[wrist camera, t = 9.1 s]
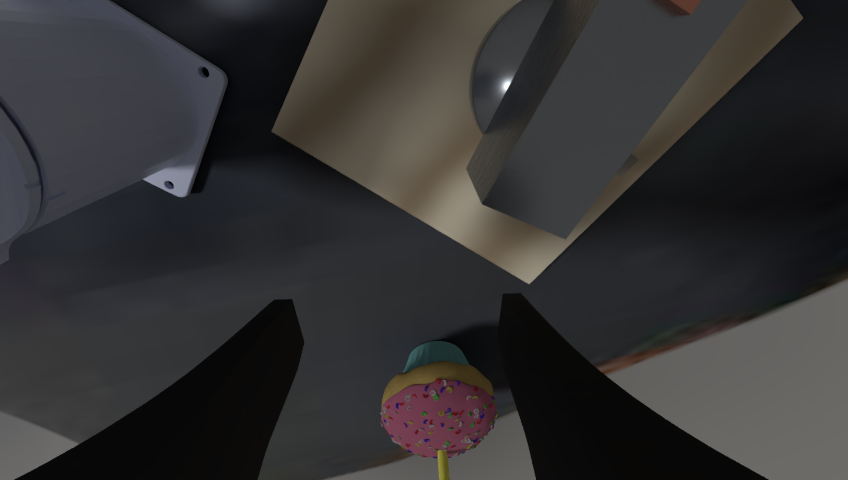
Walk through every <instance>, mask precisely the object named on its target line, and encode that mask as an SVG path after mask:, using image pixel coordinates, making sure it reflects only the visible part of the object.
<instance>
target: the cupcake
mask: <svg viewBox="0 0 848 480" xmlns="http://www.w3.org/2000/svg"><path fill="white" fill-rule="evenodd" d="M496 409H497V403H496V400H495V398H494V393H493V388H492V384H491V383H490V381H489V380H488V379H487V378H486V377H484V376H483V375H482V374H481V373H480V372H479V371H478V370H477V369H476V368H474V367H473V366H471V365H469V363H468V361H467V359H466V358H465V356H464V354H463V352H462V351H461V349H460V348H458V347H457V346H456V345H454V344H452V343H449V342H445V341H431V342H426V343H424V344H421V345H419V346H418V347H416V348H415V349H414V350H413V351H412V352H411V354H410V356H409V359H408V362H407V364H406V367H405V369H404V372H403V373H399V374H397V375H396V376H395V377H394V378H393V379H392V380H391V381H390V382H389V383H388V385H387V387H386V389H385V392H384V395H383V400H382V412H381V413H380V414H381V415H382V417H381V420H382V422H381V426H382V427H385V429H386V431H387V433H388V434H389V435H390V436H391V437H392V441H393V440H394V441H393V442H394V443H396V444H399V445H400V446H401V448H402V449H403V450H406V449H407V450H408V452H412V453H414V454H416V455H419V456H423V457H433V458H438V464H439V479H440V480H449V468H448V458H450V457H451V456H454V455H455V456H458V455H459V454H460V453H461V454H463V453H464V452H465V451H466V450H470V449H473V448H475V447H476V446H477V445H478V444H479V443H480V441H481V440H483V439H484V437H486V436H487V435H488V432H489V431H490V430H491V429H490V428H492V429H493V428H494V423H495V421H494V420H495V418H496V417H497V412H496ZM382 423H383V425H382Z"/></svg>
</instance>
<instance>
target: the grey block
mask: <svg viewBox="0 0 848 480" xmlns="http://www.w3.org/2000/svg"><path fill="white" fill-rule="evenodd" d="M747 1H748V0H521V1H519V2H517V3H516V4H515V5H513V6H512V7H510V8H509V9H508V10H507V11H506V12H505V13H503V14H502V15H501V16H500V17H499V18H498V19H497V21H496V22H495V23H494V24H493V25H492V26H491V28H490V29H489V31H488V32H487V34H486V35H485V37H484V38H483V40H482V42H481V44H480V46H479V48H478V50H477V53H476V56H475V58H474V61H473V65H472V69H471V74H470V81H469V98H470V106H471V110H472V114H473V117H474V120H475V123H476V124H477V126H478V128H479V130H480V132H481V133H482V134H483V137H482V139H481V140H480V142H479V144H478V146H477V148H476V150H475V152H474V154H473V156H472V158H471V160H470V161H469V163H468V165H467V167H466V170H467V172H468V174H469V177H470V179H471V181H472V183H473V186H474V188H475V190H476V193H477V195H478V197H479V199H480V202H481V204H482V205H484V206H487V207H489V208H492V209H494V210H496V211H499V212H501V213H503V214H506V215H508V216H511V217H513V218H515V219H518V220H520V221H522V222H525V223H527V224H530V225H532V226H534V227H537V228H539V229H541V230H544V231H546V232H549V233H551V234H553V235H556V236H558V237H560V238H563V239H565V240H566V239H567V237H568V236H569V235H570V233H571V232H572V231H573V229H574V228H575V227H576V225H577V224H578V223H579V221H580V220H581V219H582V218H583V216H584V215H585V214H586V212H587V211H588V210H589V208H590V207H591V206H592V204H593V203H594V202H595V200H596V199H597V198H598V196H599V195H600V194H601V193H602V191H603V190H604V189H605V187H606V186H607V185H608V183H609V182H610V181H611V179H612V178H613V177H614V175H615V174H616V173H617V172H618V170H619V169H620V168H621V166H622V165H623V164H624V162H625V161H626V160H627V158H628V157H629V156H630V154H631V153H632V152H633V151H634V149H635V148H636V147H637V145H638V144H639V143H640V141H641V140H642V139H643V137H644V136H645V135H646V133H647V132H648V131H649V129H650V128H651V127H652V126H653V124H654V123H655V122H656V120H657V119H658V118H659V116H660V115H661V114H662V112H663V111H664V110H665V108H666V107H667V106H668V105H669V103H670V102H671V101H672V99H673V98H674V97H675V95H676V94H677V93H678V91H679V90H680V89H681V87H682V86H683V85H684V83H685V82H686V81H687V80H688V78H689V77H690V76H691V74H692V73H693V72H694V70H695V69H696V68H697V66H698V65H699V64H700V62H701V61H702V60H703V59H704V57H705V56H706V55H707V53H708V52H709V51H710V49H711V48H712V47H713V45H714V44H715V43H716V41H717V40H718V39H719V37H720V36H721V35H722V34H723V32H724V31H725V30H726V28H727V27H728V26H729V24H730V23H731V22H732V20H733V19H734V18H735V16H736V15H737V14H738V13H739V11H740V10H741V9H742V7H743V6H744V5H745V3H746V2H747Z"/></svg>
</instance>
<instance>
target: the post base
mask: <svg viewBox="0 0 848 480" xmlns="http://www.w3.org/2000/svg"><path fill="white" fill-rule="evenodd" d="M519 1H521V0H328V1H327V4H326V6H325V8H324V11H323V13H322V15H321V18H320V20H319V22H318V25H317V27H316V29H315V32H314V34H313V36H312V39H311V41H310V43H309V45H308V48H307V50H306V52H305V55H304V57H303V59H302V62H301V64H300V66H299V69H298V71H297V73H296V76H295V78H294V80H293V83H292V85H291V87H290V90H289V92H288V94H287V97H286V99H285V101H284V104H283V106H282V108H281V111H280V113H279V115H278V118H277V120H276V122H275V124H274V127H273V129H272V131H271V132H273V133H275V134H276V135H278V136H280V137H281V138H283V139H285V140H286V141H288V142H290V143H292V144H293V145H295V146H297V147H298V148H300V149H302V150H303V151H305V152H307V153H308V154H310V155H312V156H314V157H315V158H317V159H319V160H320V161H322V162H324V163H325V164H327V165H329V166H330V167H332V168H334V169H335V170H337V171H339V172H341V173H342V174H344V175H346V176H347V177H349V178H351V179H352V180H354V181H356V182H357V183H359V184H361V185H362V186H364V187H366V188H368V189H369V190H371V191H373V192H374V193H376V194H378V195H379V196H381V197H383V198H384V199H386V200H388V201H389V202H391V203H393V204H395V205H396V206H398V207H400V208H401V209H403V210H405V211H406V212H408V213H410V214H411V215H413V216H415V217H417V218H418V219H420V220H422V221H423V222H425V223H427V224H428V225H430V226H432V227H433V228H435V229H437V230H438V231H440V232H442V233H444V234H445V235H447V236H449V237H450V238H452V239H454V240H455V241H457V242H459V243H460V244H462V245H464V246H465V247H467V248H469V249H471V250H472V251H474V252H476V253H477V254H479V255H481V256H482V257H484V258H486V259H487V260H489V261H491V262H493V263H494V264H496V265H498V266H499V267H501V268H503V269H504V270H506V271H508V272H509V273H511V274H513V275H514V276H516V277H518V278H520V279H521V280H523V281H525V282H526V283H528V284H530V283H531V282H532V281H533V280H534V279H535V278H536V277H537V276H538V275H539V274H540V273H541V272H542V271H543V270H544V269H545V268H546V267H547V266H548V265H549V264H550V263H552V262H553V261H554V260H555V259H556V258H557V257H558V256H559V255H560V254H561V253H562V252H563V251H564V250H565V249H566V248H567V247H568V246H569V245H570V244H571V243H572V242H573V241H574V240H575V239H576V238H577V237H578V236H579V235H580V234H581V233H582V232H583V231H584V230H586V229H587V228H588V227H589V226H590V225H591V224H592V223H593V222H594V221H595V220H596V219H597V218H598V217H599V216H600V215H601V214H602V213H603V212H604V211H605V210H606V209H607V208H608V207H609V206H610V205H611V204H612V203H613V202H614V201H615V200H616V199H617V198H619V197H620V196H621V195H622V194H623V193H624V192H625V191H626V190H627V189H628V188H629V187H630V186H631V185H632V184H633V183H634V182H635V181H636V180H637V179H638V178H639V177H640V176H641V175H642V174H643V173H644V172H645V171H646V170H647V169H648V168H649V167H650V166H652V165H653V164H654V163H655V162H656V161H657V160H658V159H659V158H660V157H661V156H662V155H663V154H664V153H665V152H666V151H667V150H668V149H669V148H670V147H671V146H672V145H673V144H674V143H675V142H676V141H677V140H678V139H679V138H680V137H681V136H682V135H683V134H685V133H686V132H687V131H688V130H689V129H690V128H691V127H692V126H693V125H694V124H695V123H696V122H697V121H698V120H699V119H700V118H701V117H702V116H703V115H704V114H705V113H706V112H707V111H708V110H709V109H710V108H711V107H712V106H713V105H714V104H715V103H716V102H718V101H719V100H720V99H721V98H722V97H723V96H724V95H725V94H726V93H727V92H728V91H729V90H730V89H731V88H732V87H733V86H734V85H735V84H736V83H737V82H738V81H739V80H740V79H741V78H742V77H743V76H744V75H745V74H746V73H747V72H748V71H749V70H751V69H752V68H753V67H754V66H755V65H756V64H757V63H758V62H759V61H760V60H761V59H762V58H763V57H764V56H765V55H766V54H767V53H768V52H769V51H770V50H771V49H772V48H773V47H774V46H775V45H776V44H777V43H778V42H779V41H780V40H781V39H782V38H784V37H785V36H786V35H787V34H788V33H789V32H790V31H791V30H792V29H793V28H794V27H795V26H796V25H797V24H798V23H799V22H800V21H801V20H802V19H803V17H802V15H801V14H800V13H799V11H798V10H797V8H796V7H795V6H794V4H793V3H792V1H791V0H748V1H747V2H746V3H745V5H744V6H743V7H742V9H741V10H740V11H739V13H738V14H737V15H736V16H735V18H734V19H733V20H732V22H731V23H730V24H729V26H728V27H727V28H726V30H725V31H724V32H723V34H722V35H721V36H720V37H719V39H718V40H717V41H716V43H715V44H714V45H713V47H712V48H711V49H710V51H709V52H708V53H707V55H706V56H705V57H704V59H703V60H702V61H701V62H700V64H699V65H698V66H697V68H696V69H695V70H694V72H693V73H692V74H691V76H690V77H689V78H688V80H687V81H686V82H685V83H684V85H683V86H682V87H681V89H680V90H679V91H678V93H677V94H676V95H675V97H674V98H673V99H672V101H671V102H670V103H669V105H668V106H667V107H666V108H665V110H664V111H663V112H662V114H661V115H660V116H659V118H658V119H657V120H656V122H655V123H654V124H653V126H652V127H651V128H650V129H649V131H648V132H647V133H646V135H645V136H644V137H643V139H642V140H641V141H640V143H639V144H638V145H637V147H636V148H635V149H634V151H633V152H632V153H631V154H630V156H629V157H628V158H627V160H626V161H625V162H624V164H623V165H622V166H621V168H620V169H619V170H618V172H617V173H616V174H615V175H614V177H613V178H612V179H611V181H610V182H609V183H608V185H607V186H606V187H605V189H604V190H603V191H602V193H601V194H600V195H599V196H598V198H597V199H596V200H595V202H594V203H593V204H592V206H591V207H590V208H589V210H588V211H587V212H586V214H585V215H584V216H583V218H582V219H581V220H580V221H579V223H578V224H577V225H576V227H575V228H574V229H573V231H572V232H571V233H570V235H569V236H568V237H567V239H566V240H565V239H563V238H560V237H558V236H556V235H553V234H551V233H549V232H546V231H544V230H541V229H539V228H537V227H534V226H532V225H530V224H527V223H525V222H522V221H520V220H518V219H515V218H513V217H511V216H508V215H506V214H503V213H501V212H499V211H496V210H494V209H492V208H489V207H487V206H484V205H482V204H481V202H480V199H479V197H478V195H477V193H476V190H475V188H474V186H473V183H472V181H471V179H470V177H469V174H468V172H467V170H466V167H467V165H468V163H469V161H470V160H471V158H472V156H473V154H474V152H475V150H476V148H477V146H478V144H479V142H480V140H481V139H482V137H483V134H482V133H481V132H480V130H479V128H478V126H477V124H476V123H475V120H474V117H473V114H472V110H471V106H470V98H469V81H470V74H471V69H472V65H473V61H474V58H475V56H476V53H477V50H478V48H479V46H480V44H481V42H482V40H483V38H484V37H485V35H486V34H487V32H488V31H489V29H490V28H491V26H492V25H493V24H494V23H495V22H496V21H497V19H498V18H499V17H500V16H501V15H502V14H503V13H505V12H506V11H507V10H508V9H509V8H510V7H512V6H513V5H515V4H516V3H517V2H519Z"/></svg>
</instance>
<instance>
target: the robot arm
mask: <svg viewBox="0 0 848 480" xmlns="http://www.w3.org/2000/svg"><path fill="white" fill-rule="evenodd" d="M203 67H205V68H206V69H207V70H208V71H209V77H206V76H205V75H204V74H203V72H202V69H203ZM227 84H228V79H227V76H226V74H225V72H224V71H222V70H221V69H220V68H218V67H217V66H215V65H213V64H212V63H210V62H209V61H207V60H205V59H204V58H202V57H201V56H199V55H197V54H196V53H194V52H192V51H191V50H189V49H188V48H186V47H184V46H183V45H181V44H180V43H178V42H176V41H175V40H173V39H172V38H170V37H168V36H167V35H165V34H164V33H162V32H160V31H159V30H157V29H155V28H154V27H152V26H151V25H149V24H147V23H146V22H144V21H143V20H141V19H139V18H138V17H136V16H135V15H133V14H131V13H130V12H128V11H127V10H125V9H123V8H122V7H120V6H118V5H117V4H115V3H114V2H112V1H110V0H0V264H2V263H4V262H6V261H8V260H9V253H8V251H9V246H10V244H11V243H12V241H14V240H15V239H16V238H17V237H19V236H21V235H24V234H26V233H28V232H30V231H32V230H35V229H37V228H39V227H41V226H43V225H45V224H47V223H50V222H52V221H54V220H56V219H58V218H60V217H62V216H65V215H67V214H69V213H71V212H73V211H75V210H77V209H80V208H82V207H84V206H86V205H88V204H90V203H92V202H95V201H97V200H99V199H101V198H103V197H105V196H107V195H110V194H112V193H114V192H116V191H118V190H120V189H122V188H125V187H127V186H129V185H131V184H133V183H135V182H137V181H140V180H142V179H143V180H145V181H147V182H149V183H151V184H153V185H155V186H157V187H159V188H161V189H163V190H166V191H168V192H170V193H172V194H174V195H176V196H178V197H185V196H187V195H188V194H189V193H190V192H191V189H192V186H193V183H194V181H195V178H196V175H197V172H198V169H199V166H200V163H201V160H202V157H203V154H204V151H205V149H206V146H207V143H208V140H209V137H210V134H211V131H212V128H213V125H214V122H215V119H216V116H217V114H218V111H219V108H220V105H221V102H222V99H223V96H224V93H225V90H226V87H227ZM169 181H170V182H172V183H173V185H174V187H173V186H171V185H170V184H169ZM497 338H498V344H499V349H500V354H501V359H502V363H503V367H504V370H505V373H506V377H507V380H508V383H509V386H510V389H511V392H512V395H513V398H514V401H515V404H516V407H517V410H518V413H519V416H520V419H521V423H522V426H523V428H524V432H525V435H526V439H527V442H528V446H529V451H530V455H531V459H532V464H533V468H534V472H535V476H536V480H768V479H766V478H765V477H763V476H761V475H759V474H757V473H756V472H754V471H752V470H750V469H749V468H747V467H745V466H743V465H741V464H740V463H738V462H736V461H734V460H732V459H730V458H729V457H727V456H725V455H723V454H722V453H720V452H718V451H716V450H714V449H713V448H711V447H709V446H708V445H706V444H705V443H703V442H701V441H700V440H698V439H696V438H695V437H693V436H692V435H690V434H688V433H686V432H685V431H683V430H682V429H680V428H678V427H677V426H675V425H674V424H672V423H671V422H669V421H668V420H666V419H664V418H663V417H662V416H660V415H659V414H657V413H656V412H654V411H653V410H651V409H650V408H649V407H647V406H646V405H644V404H643V403H641V402H640V401H638V400H637V399H636V398H634V397H633V396H632V395H630V394H629V393H627V392H626V391H625V390H623V389H622V388H621V387H619V386H618V385H617V384H616V383H614V382H613V381H612V380H611V379H609V378H608V377H607V376H606V375H604V374H603V373H602V372H600V371H599V370H598V369H597V368H596V367H595V366H593V365H592V364H591V363H590V362H589V361H588V360H586V359H585V358H584V357H583V356H582V355H581V354H580V353H579V352H578V351H576V350H575V349H574V348H573V347H572V346H571V345H570V344H569V343H568V342H567V341H566V340H565V339H564V338H563V337H562V336H561V335H560V334H559V333H558V332H557V331H556V330H555V329H554V328H553V327H552V326H551V325H550V324H549V323H548V322H547V321H546V320H545V319H544V318H543V317H542V316H541V314H540V313H539V312H538V311H537V310H536V309H535V308H534V307H533V306H532V305H531V304H530V303H529V301H528V300H527V299H526V298H525V297H524V296H523V295H522V294H521V293H514V294H503V297H502V305H501V312H500V320H499V327H498V335H497ZM303 346H304V339H303V336H302V332H301V329H300V325H299V322H298V318H297V315H296V311H295V307H294V304H293V300H292V299H286V300H274V301H272V302H271V303H270V304H269V305H268V306H266V307H265V308H264V309H263V310H262V311H261V312H260V313H258V314H257V315H256V316H255V317H254V318H253V319H252V320H251V321H250V322H248V323H247V324H246V325H245V326H244V327H243V328H242V329H240V330H239V331H238V332H237V333H236V334H235V335H234V336H232V337H231V338H230V339H229V340H228V341H227V342H226V343H224V344H223V345H222V346H221V347H220V348H218V349H217V350H216V351H215V352H213V353H212V354H211V355H210V356H208V357H207V358H206V359H205V360H204V361H202V362H201V363H200V364H199V365H197V366H196V367H195V368H194V369H192V370H191V371H190V372H189V373H187V374H186V375H185V376H183V377H182V378H181V379H179V380H178V381H176V382H175V383H174V384H172V385H171V386H170V387H168V388H167V389H165V390H164V391H162V392H161V393H160V394H158V395H157V396H155V397H154V398H152V399H151V400H150V401H148V402H147V403H145V404H143V405H142V406H140V407H139V408H137V409H136V410H134V411H132V412H131V413H129V414H128V415H126V416H125V417H123V418H122V419H120V420H118V421H117V422H115V423H114V424H112V425H111V426H109V427H107V428H106V429H104V430H103V431H101V432H99V433H98V434H96V435H94V436H92V437H91V438H89V439H87V440H86V441H84V442H82V443H80V444H79V445H77V446H76V447H74V448H72V449H70V450H68V451H66V452H65V453H63V454H61V455H59V456H58V457H56V458H54V459H52V460H51V461H49V462H47V463H45V464H43V465H41V466H39V467H38V468H36V469H34V470H32V471H30V472H28V473H26V474H25V475H22V476H20V477H19V478H17V479H15V480H257V479H258V476H259V472H260V469H261V466H262V462H263V459H264V455H265V452H266V449H267V447H268V444H269V441H270V438H271V436H272V433H273V431H274V428H275V426H276V423H277V421H278V418H279V415H280V413H281V410H282V408H283V405H284V403H285V400H286V398H287V395H288V393H289V390H290V388H291V385H292V383H293V380H294V377H295V375H296V372H297V369H298V365H299V362H300V358H301V354H302V350H303Z"/></svg>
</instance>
